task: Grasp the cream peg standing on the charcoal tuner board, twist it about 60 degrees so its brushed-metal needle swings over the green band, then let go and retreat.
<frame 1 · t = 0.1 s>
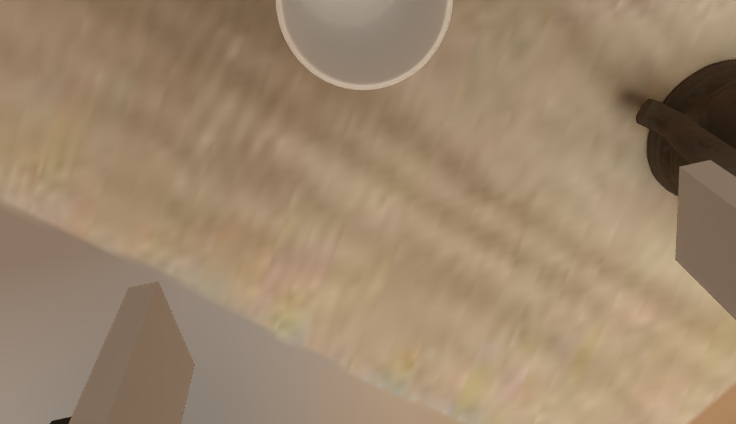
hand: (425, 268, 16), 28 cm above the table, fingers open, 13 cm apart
beer stein: (686, 125, 46), on the table
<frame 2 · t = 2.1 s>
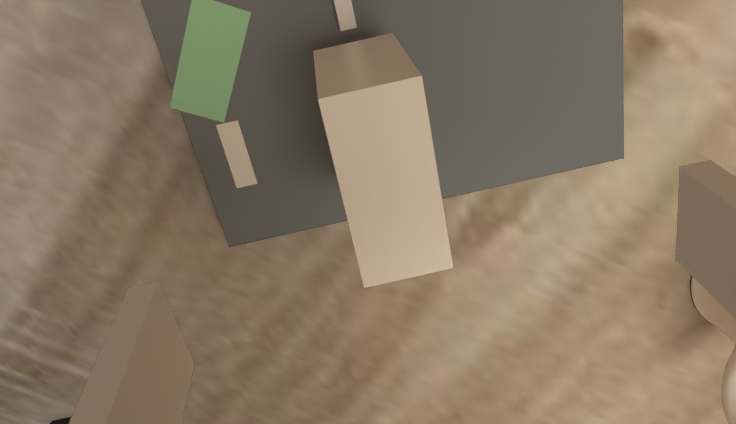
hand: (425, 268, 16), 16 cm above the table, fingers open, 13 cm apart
tuner board: (393, 44, 29), on the table
peg: (361, 73, 23), point 6 cm above the table, hinge at 0.0°
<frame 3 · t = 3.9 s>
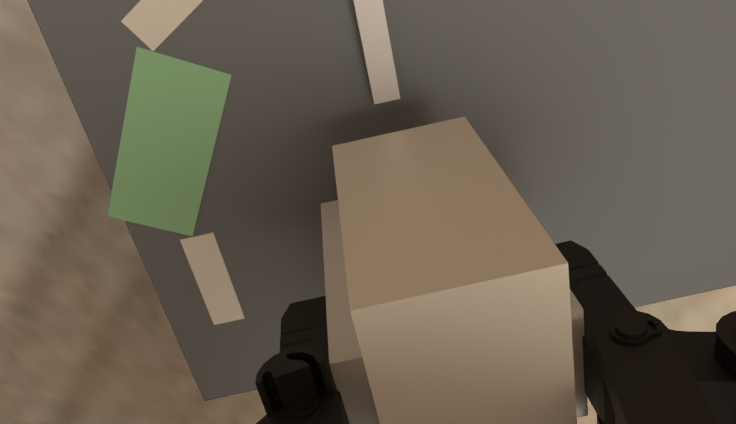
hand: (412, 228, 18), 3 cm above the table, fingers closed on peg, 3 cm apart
tuner board: (450, 111, 19), on the table
peg: (416, 195, 13), point 6 cm above the table, hinge at 0.0°, touching gripper
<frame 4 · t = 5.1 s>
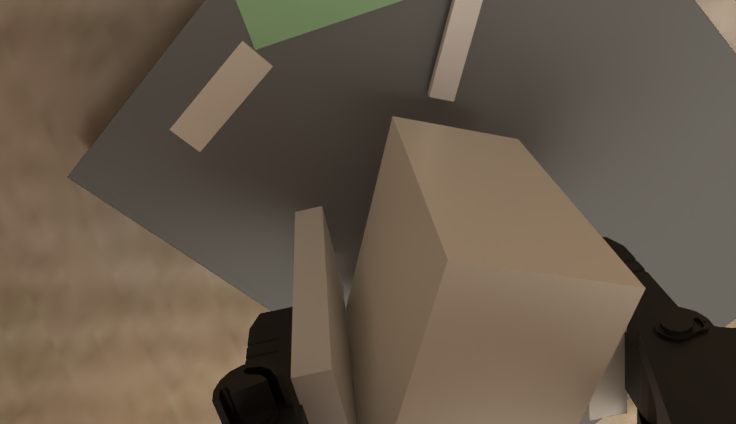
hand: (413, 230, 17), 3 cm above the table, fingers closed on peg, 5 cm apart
tuner board: (482, 175, 21), on the table
peg: (466, 190, 14), point 7 cm above the table, hinge at 30.7°, touching gripper
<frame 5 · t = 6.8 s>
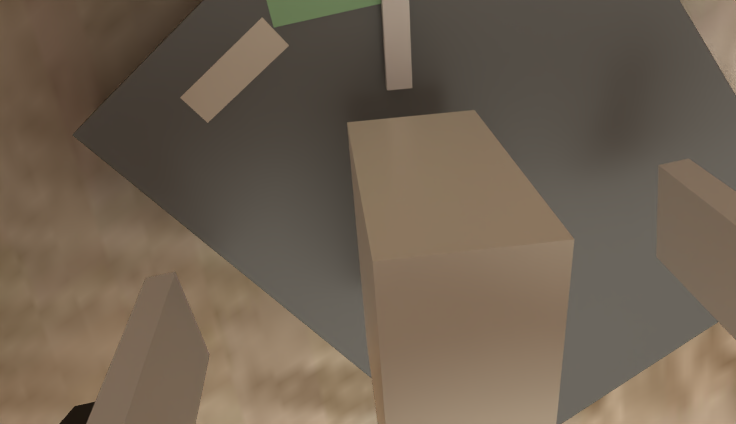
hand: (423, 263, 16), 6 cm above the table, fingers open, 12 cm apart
tuner board: (476, 173, 21), on the table
peg: (425, 176, 14), point 6 cm above the table, hinge at 52.7°
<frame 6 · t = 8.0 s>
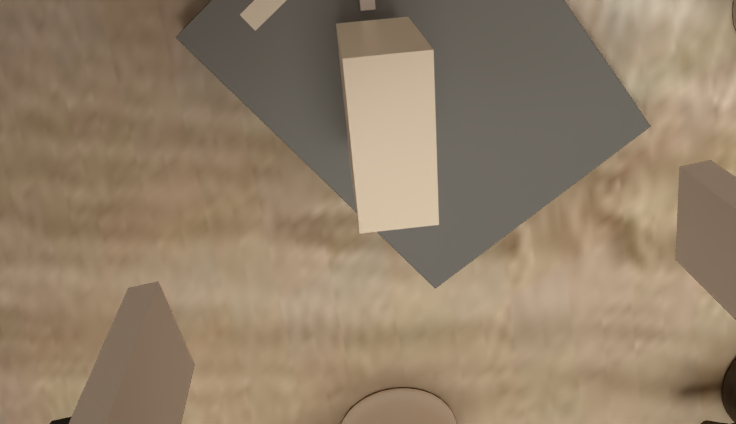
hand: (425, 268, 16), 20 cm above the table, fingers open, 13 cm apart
tuner board: (422, 74, 33), on the table
peg: (377, 47, 26), point 6 cm above the table, hinge at 53.3°
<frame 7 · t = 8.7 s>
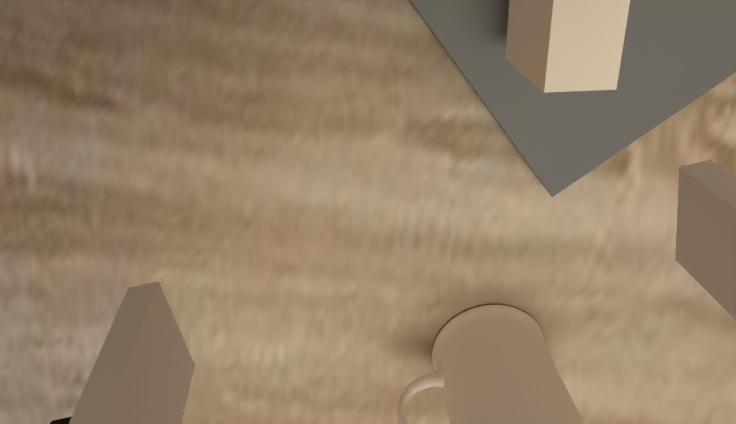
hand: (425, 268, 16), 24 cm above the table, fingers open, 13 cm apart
mug: (466, 346, 47), on the table
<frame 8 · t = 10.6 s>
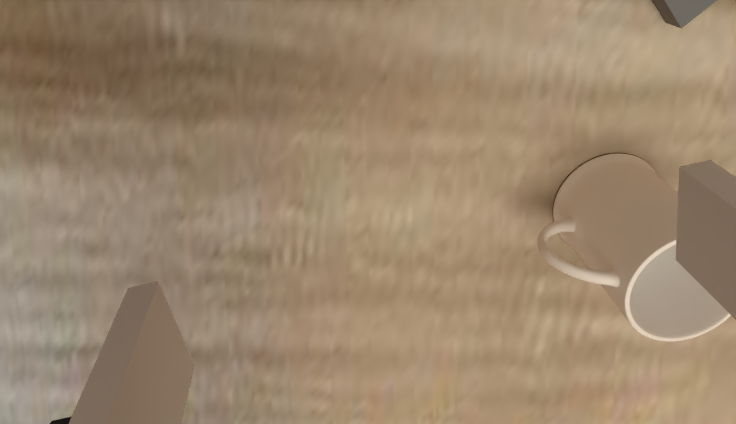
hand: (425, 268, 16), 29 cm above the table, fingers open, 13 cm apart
mug: (585, 200, 49), on the table
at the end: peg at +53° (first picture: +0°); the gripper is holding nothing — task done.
